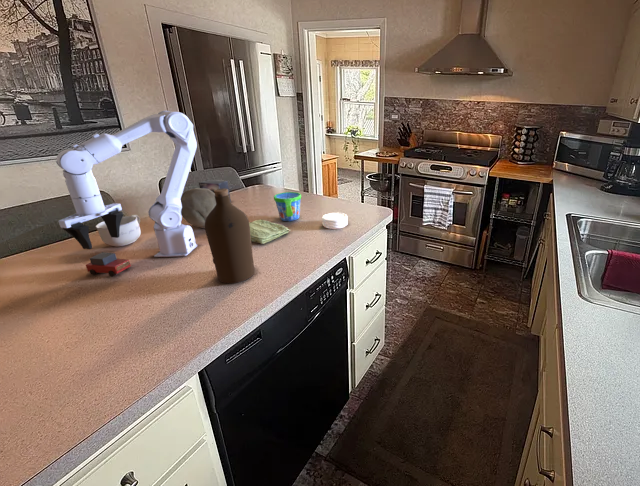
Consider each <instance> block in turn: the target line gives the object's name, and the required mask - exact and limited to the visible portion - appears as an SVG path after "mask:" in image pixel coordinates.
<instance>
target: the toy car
mask: <svg viewBox="0 0 640 486" xmlns="http://www.w3.org/2000/svg"><path fill="white" fill-rule="evenodd" d="M88 259H89V261H90V262H88V263H86V264H85V268H86V270H87V272H88V273H89V274H90V275H91V276H96V275H97V274H98V273H99V274H101V273H103V274H108V275H109V277H115V276H117V275H118V274H120V273H121V272H123V271H125V270H128V269H130V267H131V266H132V265H131V262H130V259H125V258H117V255H116V253H115V252H107V251H106V252H105V251H104V252H103V251H102V252H100V253H97V254H95V255H93V256H91V257H89V258H88Z"/></svg>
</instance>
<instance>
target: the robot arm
mask: <svg viewBox="0 0 640 486" xmlns="http://www.w3.org/2000/svg"><path fill="white" fill-rule="evenodd" d="M151 133H164V134H166V135H167V136H168V137H169V138H170V139H171V141H172V142H173V144H174V145H175V148H174V150H173V154H172V157H171V161H170V163H169V167H168V169H167V172H166V176H165V180H164V183H163V185H162V189H161V193H160V194H159V195H158V196H157V197H156V198H155V201H154V203H153V204H152V205H151V206H150V207H149V209H148V212H147V213H148V217H149V218H150V220H152V221H153V222H154V225H153V231H154V235H155V239H156V242H157V245H158V249H159V251H158V252H156V253H155V255H153V256H154V258H168V257H187V256H188V255H189V254H190V253H192V251H194V250H195V249H196V248H197V247H198V244H197V243H196V242H197V241H196V238H195V233H194V230H193V228H192V225H189V224H188V225H187V224H183V223H182V220H183V217H182V215H181V209H182V204H181V196H182V194H183V193H184V190H185V187H186V183H187V180H188V177H189V173H190V170H191V168H192V165H193V162H194V161H193V160H194V158H195V154H196V152H197V148H198V143H197V139H196V135H195V132H194V124H193V123H192V121H191V120H190V119H189V117H188V116H187V115H186V114H185V113H183V112H180V111H170V110H161V111H159V112H158V113H152V114H151V115H148V116H145V117H143V118H142V119H139V120H138V121H136V122H134V123H133V124H130V125H129V126H126V127H125V128H123V129H120V130H118V131H117V132H115V133H113V134H109V133H103V132H102V133H101V134H99V133H93V134H91V137H92V138H90V139H88V140H85V141H84V142H81V143H79V144H77V143H74V144H72V145H71V147H72V148H70V149H69V148H67V149H63V150H60V152H58V154H57V156H56V161H55V163H56V165H57V166H58V168H60V169H62V175H63V177H64V179H65V180H64V183H65V186H66V187H67V190H68V194H69V196H70V199H71V201H72V203H73V208H74V209H75V213H74V214H71V215H69V216H67V217H64V218H62V219H59V220H57V221H58V225H59V227H60V228H62V230H63V231H65V232H66V233H68V234H69V235H70V236H72V237H73V238H74V239H75V240H76V241H77V242H78V244H79V245H80V246H81V248H82V249H83V250H92V249H93V244H92V241H91V238H90V232H89V230H90V226H89V225H84V224H83V223H85V222H88V221H90V220H91V221H92V220H93V219H97V218H99V217H101V219H102V220H103V221H104V222H105V224H106V226H107V228H108V231H109V234H110V236H111V237H114V238H118V237H119V231H120V223H121V219H122V217H124V212H123V207H122V205H121V203H119V202H118V203H116V202H113V203H110V204H107V205H105V203H104V201H103V198H102V195H101V194H102V193H101V192H100V189H99V186H98V183H97V179H96V177H95V176H94V174H93V170H92V169H93V167H94V165H99V164H100V163H102V162H105V161H106V160H108V159H110V158H112V157H114V156H116V155H118V154H120V153H121V152H122V148H123V146H124V145H126V144H129V143H131V142H133V141H135V140H137V139H139V138H142V137H144V136H146V135H148V134H151Z"/></svg>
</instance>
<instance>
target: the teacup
mask: <svg viewBox="0 0 640 486" xmlns="http://www.w3.org/2000/svg"><path fill="white" fill-rule="evenodd" d="M140 224H141V217H140V216H139V215H138V214H131V215H127V216H126V215H125V216H123V217H122V219H121V223H120V231H119V237H118V238H114V237H111V236H110V234H109V231H108V228H107V226H106V224H105V222H104V220H103V221H101V222H99V223H97V224H96V225H95V229H96V230H97V232H98V235H99V238H100V239H101V241H102V242H103V243H104V244H106V245H108V246H112V247H124V246H127V245H130V244H132V243H135V242H136V241H137V240H138V239H139V238H140V236H141V234H142V231H141V227H140Z"/></svg>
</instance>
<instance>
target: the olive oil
mask: <svg viewBox="0 0 640 486" xmlns="http://www.w3.org/2000/svg"><path fill="white" fill-rule="evenodd" d="M214 193H215V196H214V197H215V201H216V206H215V207H214V208H213V210H212V211H211V212H210V213H209V215H208V216H207V218H206V220H205V228H204V231H205V236H206V238H207V242H208V246H209V249H210V252H211V256H212V263H213V265H214V267H215V271H216V276H217V279H218V281H219V282H221V283H223V284H237V283H241V282H244V281H247V280H248V279H250V278H252V277H253V276H254V275H255V262H254V256H253V255H254V254H253V245H252V241H251V235H250V225H249V223H250V220H249V218H248V216H247V214H246V213H245V212H244V211H243V210H242V209H240V208H239V207H237V206H236V205H234V204H233V203H232V201H231V202H230V198H231V195H230V196H229V194H228V189H224V188H223V189H216V190H214Z"/></svg>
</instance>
